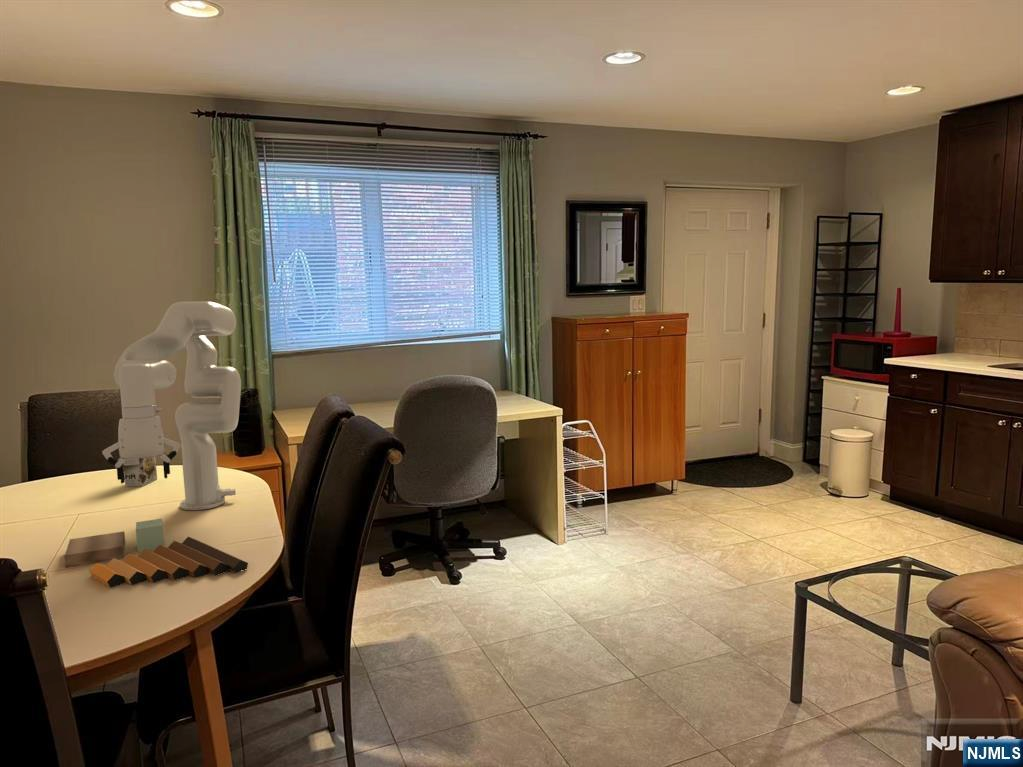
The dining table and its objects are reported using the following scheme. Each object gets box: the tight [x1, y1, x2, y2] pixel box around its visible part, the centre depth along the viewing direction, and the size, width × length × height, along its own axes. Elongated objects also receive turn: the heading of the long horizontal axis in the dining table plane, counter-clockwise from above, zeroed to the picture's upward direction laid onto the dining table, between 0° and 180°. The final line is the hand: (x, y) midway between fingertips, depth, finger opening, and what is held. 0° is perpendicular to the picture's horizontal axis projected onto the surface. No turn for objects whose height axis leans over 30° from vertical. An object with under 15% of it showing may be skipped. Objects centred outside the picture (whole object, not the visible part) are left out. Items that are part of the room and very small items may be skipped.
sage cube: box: [135, 518, 165, 553], centre depth 178 cm, size 6×6×6 cm
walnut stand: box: [64, 531, 126, 568], centre depth 173 cm, size 12×12×3 cm
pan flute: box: [88, 536, 249, 589], centre depth 162 cm, size 25×3×25 cm
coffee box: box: [122, 457, 158, 488], centre depth 236 cm, size 9×6×16 cm
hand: (144, 479), depth 176 cm, fingers open, 9 cm apart
